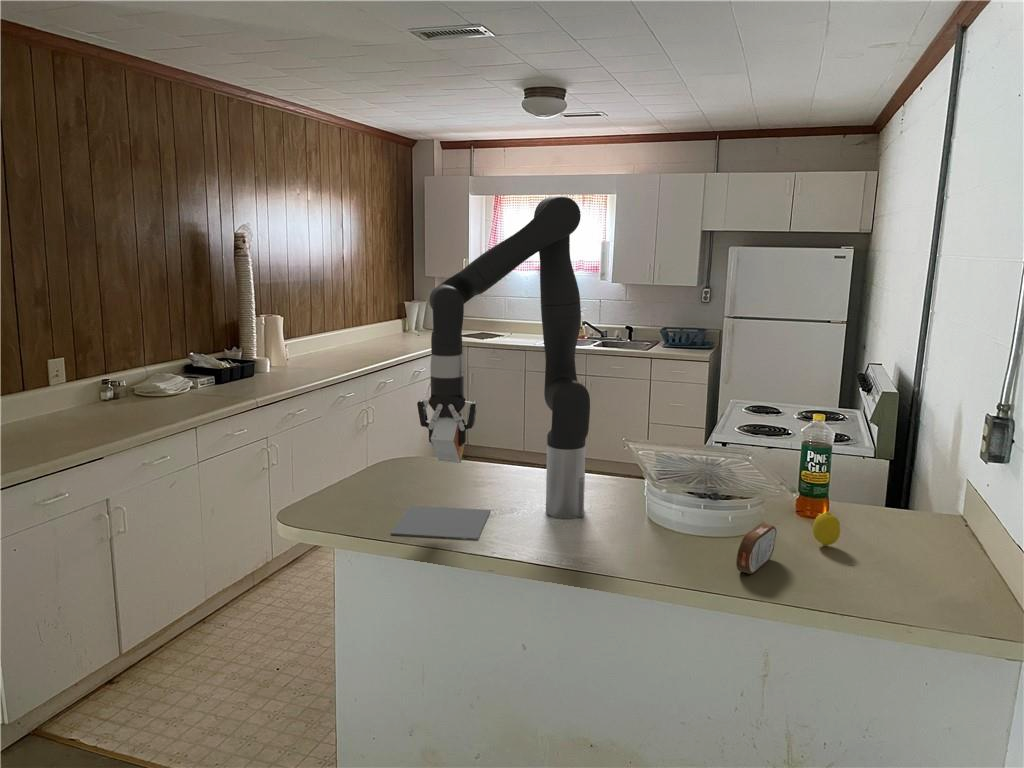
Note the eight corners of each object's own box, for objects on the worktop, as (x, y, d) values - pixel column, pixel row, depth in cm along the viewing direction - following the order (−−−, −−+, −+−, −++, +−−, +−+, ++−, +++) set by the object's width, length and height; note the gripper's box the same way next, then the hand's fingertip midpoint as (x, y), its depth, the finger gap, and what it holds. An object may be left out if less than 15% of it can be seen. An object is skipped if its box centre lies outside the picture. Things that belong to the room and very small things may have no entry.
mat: (490, 511, 187) (490, 509, 186) (477, 540, 169) (478, 538, 169) (411, 507, 189) (411, 505, 189) (390, 534, 172) (390, 533, 171)
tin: (762, 553, 163) (765, 516, 162) (777, 557, 161) (780, 519, 160) (733, 577, 152) (736, 537, 150) (748, 581, 150) (751, 541, 148)
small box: (460, 464, 179) (453, 442, 171) (437, 461, 180) (429, 439, 172) (467, 434, 184) (460, 411, 175) (445, 432, 185) (437, 409, 176)
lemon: (822, 552, 164) (825, 517, 162) (806, 542, 169) (809, 508, 168) (844, 550, 165) (847, 515, 164) (827, 540, 171) (830, 506, 169)
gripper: (412, 375, 170) (413, 448, 174) (475, 377, 169) (475, 450, 172) (420, 369, 178) (421, 439, 181) (481, 371, 176) (481, 442, 179)
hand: (447, 444), depth 176 cm, fingers closed on small box, 6 cm apart
